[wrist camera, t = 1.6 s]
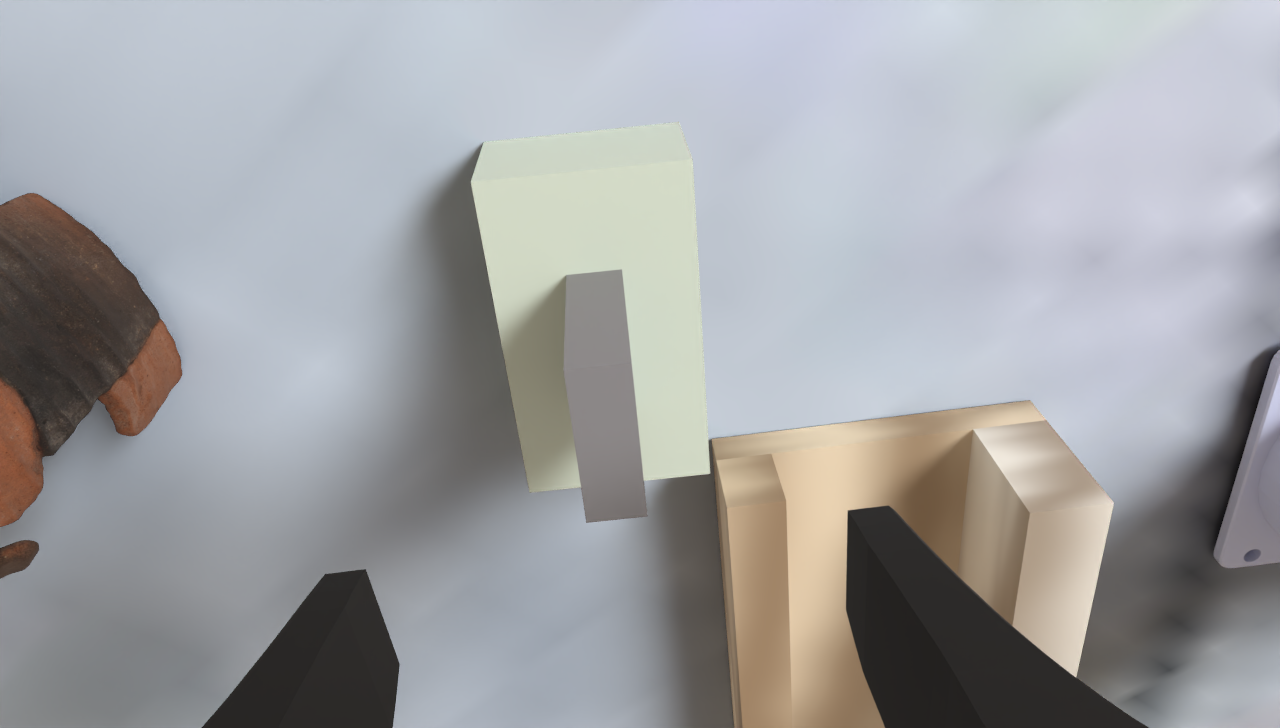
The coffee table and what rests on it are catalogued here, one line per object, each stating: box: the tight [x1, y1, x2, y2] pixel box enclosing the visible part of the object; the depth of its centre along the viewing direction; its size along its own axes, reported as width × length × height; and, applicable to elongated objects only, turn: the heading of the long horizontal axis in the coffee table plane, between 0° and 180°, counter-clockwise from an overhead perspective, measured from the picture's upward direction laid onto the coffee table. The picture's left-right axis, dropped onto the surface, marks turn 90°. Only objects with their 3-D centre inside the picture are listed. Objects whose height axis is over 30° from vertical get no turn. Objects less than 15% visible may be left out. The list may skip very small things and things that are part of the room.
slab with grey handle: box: [471, 122, 710, 523], centre depth 19 cm, size 4×8×7 cm, turn 5°
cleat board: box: [712, 400, 1114, 728], centre depth 28 cm, size 9×20×4 cm, turn 6°
